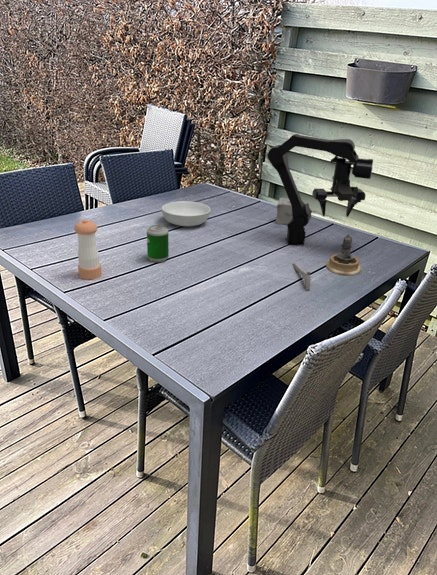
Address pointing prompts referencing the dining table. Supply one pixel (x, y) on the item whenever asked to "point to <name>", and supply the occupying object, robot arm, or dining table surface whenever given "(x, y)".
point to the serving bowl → (186, 213)
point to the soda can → (157, 243)
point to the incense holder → (284, 211)
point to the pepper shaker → (87, 250)
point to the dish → (343, 266)
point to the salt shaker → (345, 251)
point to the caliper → (304, 275)
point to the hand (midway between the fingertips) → (335, 216)
